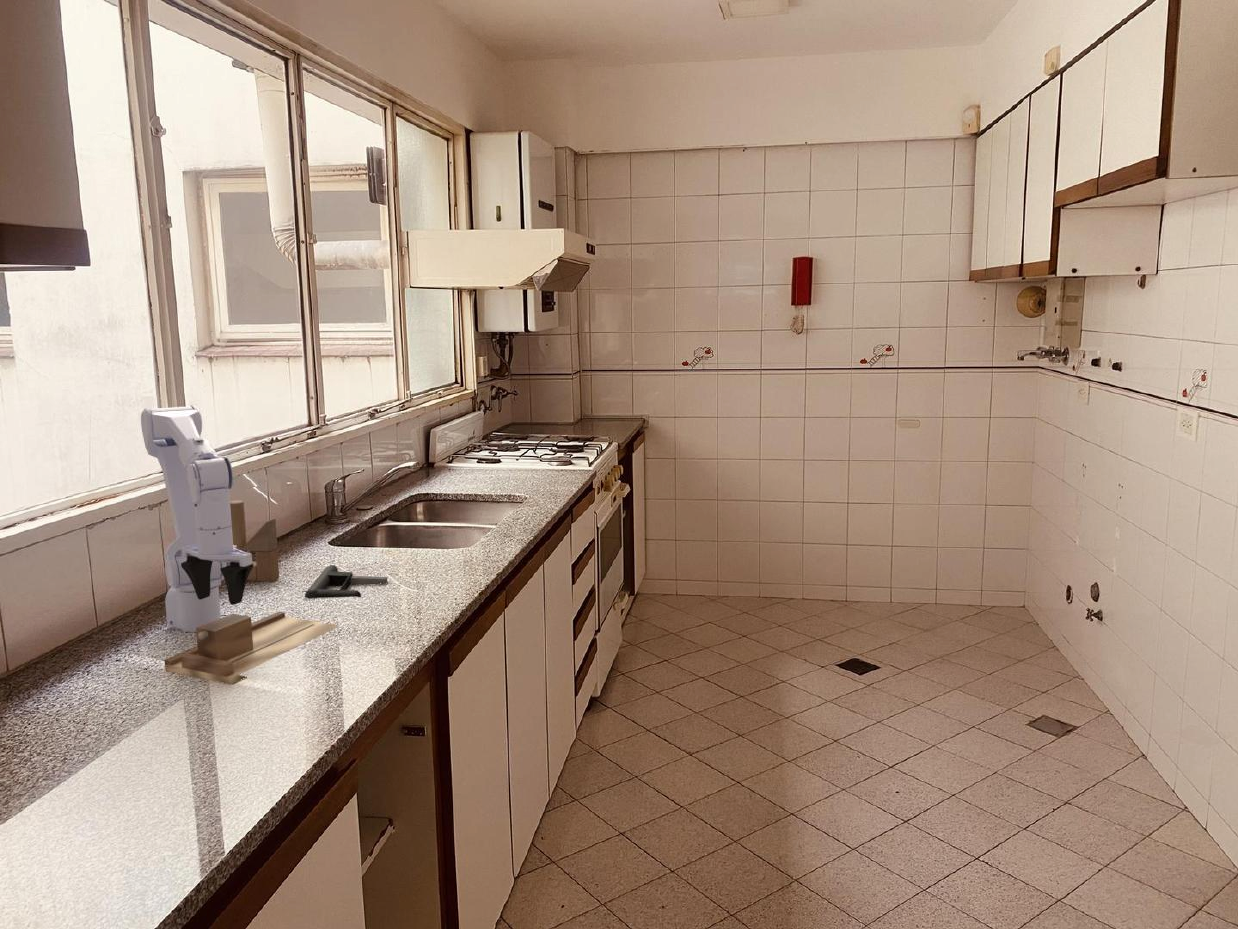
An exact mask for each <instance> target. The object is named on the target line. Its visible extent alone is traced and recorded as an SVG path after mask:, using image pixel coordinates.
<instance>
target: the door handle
mask: <svg viewBox="0 0 1238 929" xmlns="http://www.w3.org/2000/svg"><path fill="white" fill-rule="evenodd" d="M353 574H354V572H353V571H339V569H338V567H337V566H336V565H335V564H331V565H328V566H326V568H325V569H323V571H321V572H320V574H319V576H318V577H317V578H316V579H315V581H314V582H313V583H312V584H311V585H310V587H309V588H308V589H307V590H303V592H305V594H304V598H306V599H319V598H320V599H321V598H322V599H323V598H326V599H327V598H328V599H329V598H352V597H353V598H355V597H357V598H361V597H362V594H361V592H360V591H359V590H357V589H356V590H353V589H349V587H350V586H365V585H364V584H379V585H387V584H388V576H372V575H371V576H370V575H368V576H365V575H364V576H363V575H353ZM380 583H381V584H380ZM386 583H387V584H386ZM329 587H340V588H339V589H328V588H329Z"/></svg>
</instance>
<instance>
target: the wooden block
mask: <svg viewBox="0 0 1238 929" xmlns="http://www.w3.org/2000/svg"><path fill="white" fill-rule="evenodd" d="M230 509H231V522H232V536H233V545H235V546H237V549H238V550H241V551H243V552H246V553H248V552H250V551H251V552H255V561H252V563H253V568H252V570H251V572H250V574H249V576H248V578H247V581H249V582H250V581H251V582H260V581H261V583H262V582H263V583H273V582H274V581H277V579H279V578H280V571H279V570H280V568H279V567H280V566H279V557H278V556H279V555H278V552H279V551H278V537H277V523H276V522H277V521H276V518H271V519H270V520H267V521H265V523H264V524H263V525H262V526H261V527H260V528H259V530H257V532H255V534H254V535H253V536H252V537H251V538H250V539H249V540H248V541H247V528H246V527H247V526H246V515H245V514H246V512H245V501H243V500H238V499H237V500H235V499H234V500H230ZM227 566H230V563H228V564H227Z"/></svg>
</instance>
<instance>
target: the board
mask: <svg viewBox="0 0 1238 929" xmlns="http://www.w3.org/2000/svg"><path fill="white" fill-rule="evenodd" d="M285 613H286V612H283V611H277V612H275V613H272V614H269V615H268V616H266V617H263V618H260V619H258V620H256V621H253V622H251V624H252V637H253V649H252V650H250V651H248V652H246V653H243V654H241V655H239V656H237V657H234V658H232V659H230V660H228V661H224V660H219V659H214V658H209V657H204V656H199V655H198V646H197V645H196V646H194V647H191V648H189V649H187V650H184V651H182V652H180V653H177V654H175V655H172V656H170V657H168V658H165V659H164V668H165V669H164V670H165V671H166V672H169V673H173V674H174V673H175V674H179V675H184V676H188V675H189V677H193V678H194V677H195V678H197V679H198V678H199V679H202V680H207V681H212V682H217V681H219V682H218V683H221V682H224V683H223V684H226V683H228V685H231V684H232V685H234V684H236V683H238V682H240V681H242V680H244V679H246V678H245V677H246V676H245V675H241V674H243V673H245V672H247V671H249V670H251V669H253V668H256V667H257V666H259V665H261V664H263V663H266V662H268V661H270V660H272V659H274V658H277V657H278V656H280V655H282V654H284V653H287V652H289V651H290V650H293V649H295V648H297V647H299V646H301V645H303V644H305V643H307V642H310V641H311V640H315V638H317V637H320V636H322V635H324V634H326V633H328V632H330V631H332V630H335V629H336V628H337V629H338V628H339V627H340V625H338V624H333V623H326V622H320V621H314V620H309V619H301V618H296V617H289V616H286V614H285ZM203 678H204V679H203ZM243 678H244V679H243ZM241 679H242V680H241ZM237 681H238V682H237ZM235 682H236V683H235ZM233 683H234V684H233Z"/></svg>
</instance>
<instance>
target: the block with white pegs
mask: <svg viewBox="0 0 1238 929" xmlns="http://www.w3.org/2000/svg"><path fill="white" fill-rule="evenodd" d="M251 623H252V616H249V615H248V614H244V615H241V614H236V613H231V614H228V615H226V616H223V617H221V618H220V619H218V620H215V621H212V622H210V623H207V624H205V625H202V626H199V627H197V628H196V632H195V633H196V643H197V645H196V646H198V655H199V656H204V657H209V658H214V659H219V660H224V661H228V660H230V659H232V658H234V657H237V656H239V655H241V654H243V653H246V652H248V651H250V650H252V649H253V637H252V624H251Z"/></svg>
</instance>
